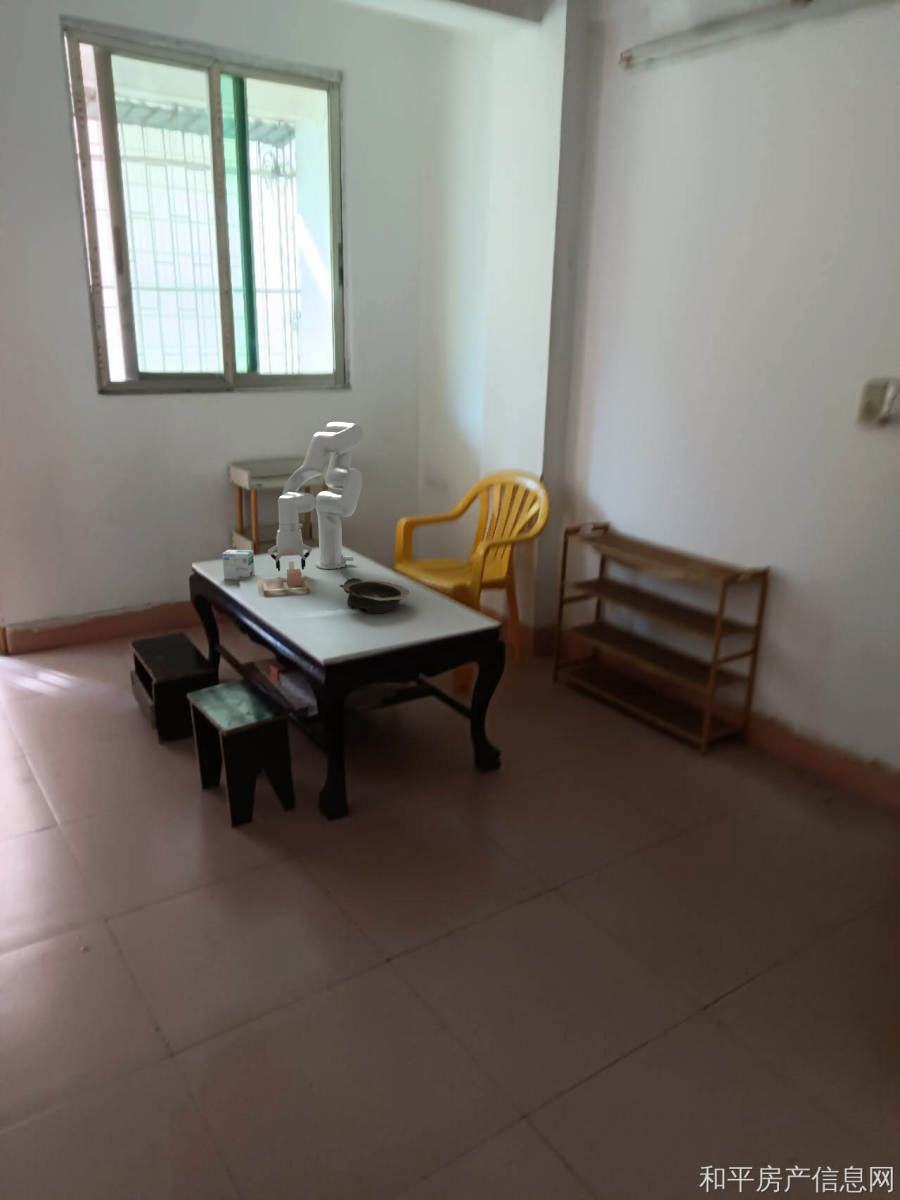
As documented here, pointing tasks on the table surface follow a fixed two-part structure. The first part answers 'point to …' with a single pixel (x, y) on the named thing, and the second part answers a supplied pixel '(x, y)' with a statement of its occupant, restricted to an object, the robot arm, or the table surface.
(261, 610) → the table surface
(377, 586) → the stone bowl
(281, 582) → the lane shelf
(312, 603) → the table surface
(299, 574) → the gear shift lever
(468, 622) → the table surface
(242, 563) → the light bulb box
